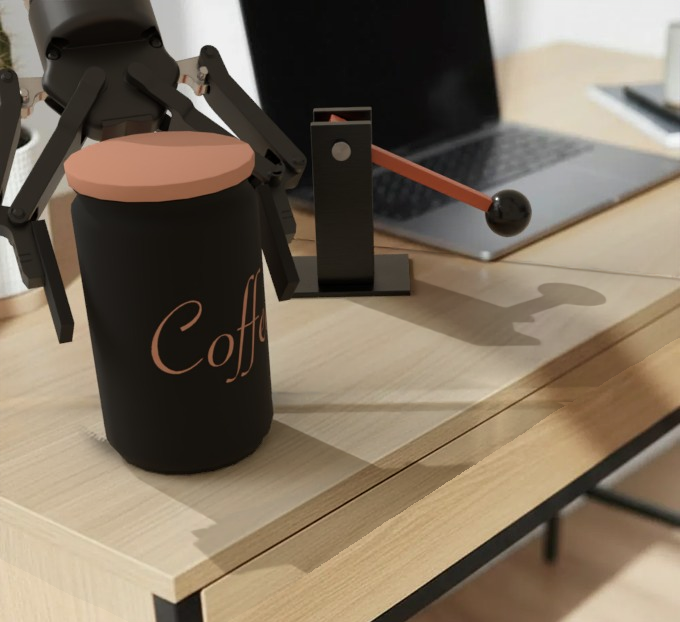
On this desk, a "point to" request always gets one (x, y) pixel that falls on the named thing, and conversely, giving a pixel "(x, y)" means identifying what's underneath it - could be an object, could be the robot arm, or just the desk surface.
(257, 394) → the coffee jar
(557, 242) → the desk surface
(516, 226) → the lever with ball knob
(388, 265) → the post on base plate
